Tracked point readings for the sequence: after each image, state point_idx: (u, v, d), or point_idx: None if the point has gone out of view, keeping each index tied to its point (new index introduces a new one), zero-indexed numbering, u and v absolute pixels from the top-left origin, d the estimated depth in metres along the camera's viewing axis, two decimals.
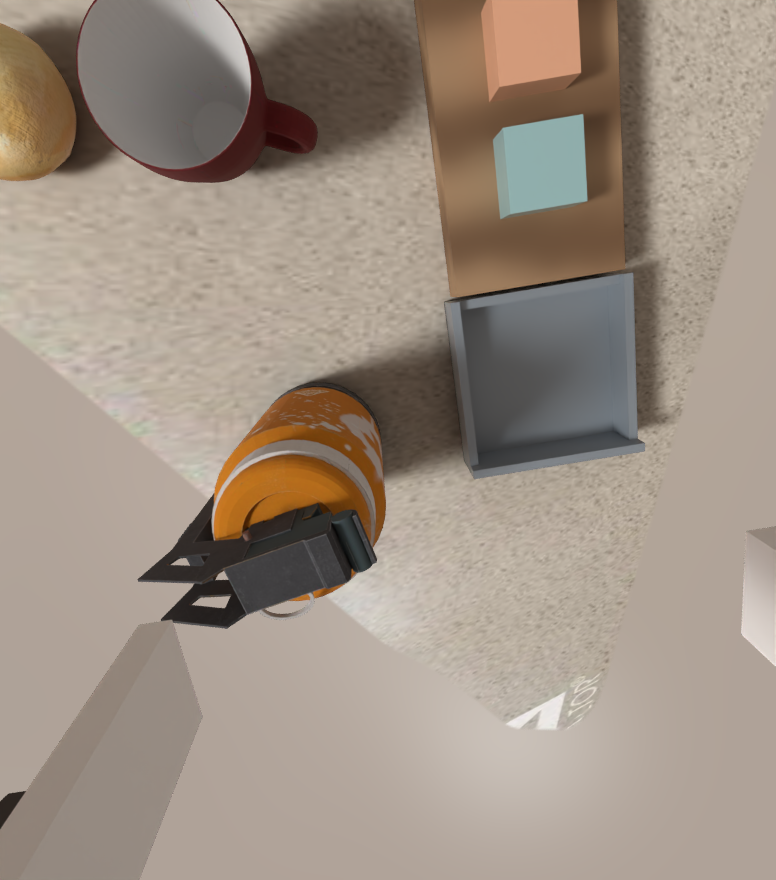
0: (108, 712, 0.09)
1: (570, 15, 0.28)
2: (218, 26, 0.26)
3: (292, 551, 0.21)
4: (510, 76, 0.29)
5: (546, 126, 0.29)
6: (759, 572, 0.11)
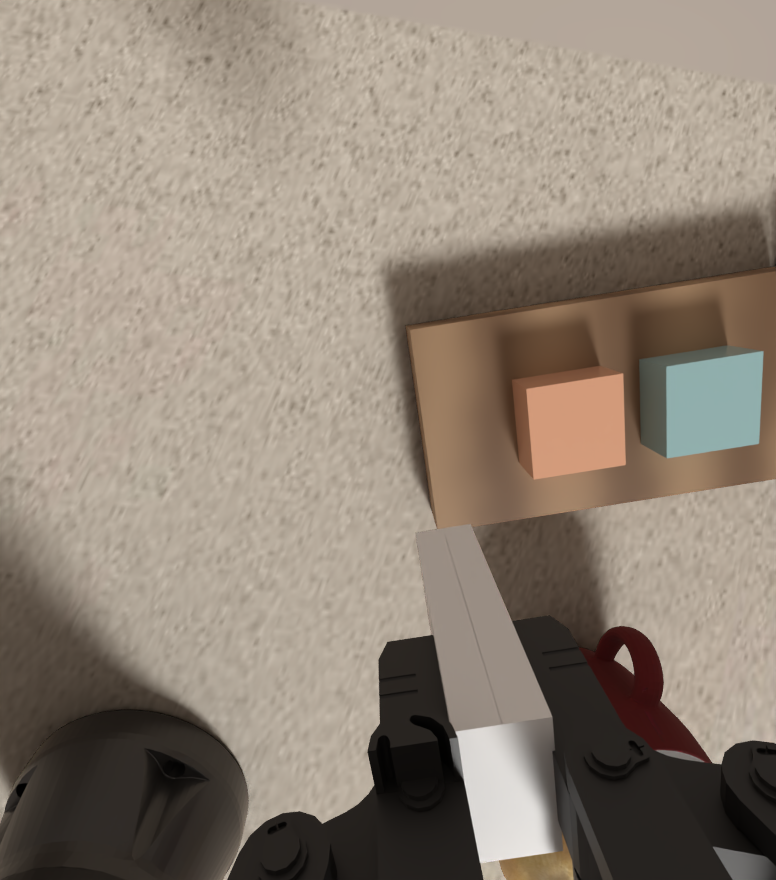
0: (451, 583, 0.11)
1: (564, 391, 0.24)
2: None
3: None
4: (617, 453, 0.25)
5: (673, 409, 0.25)
6: None
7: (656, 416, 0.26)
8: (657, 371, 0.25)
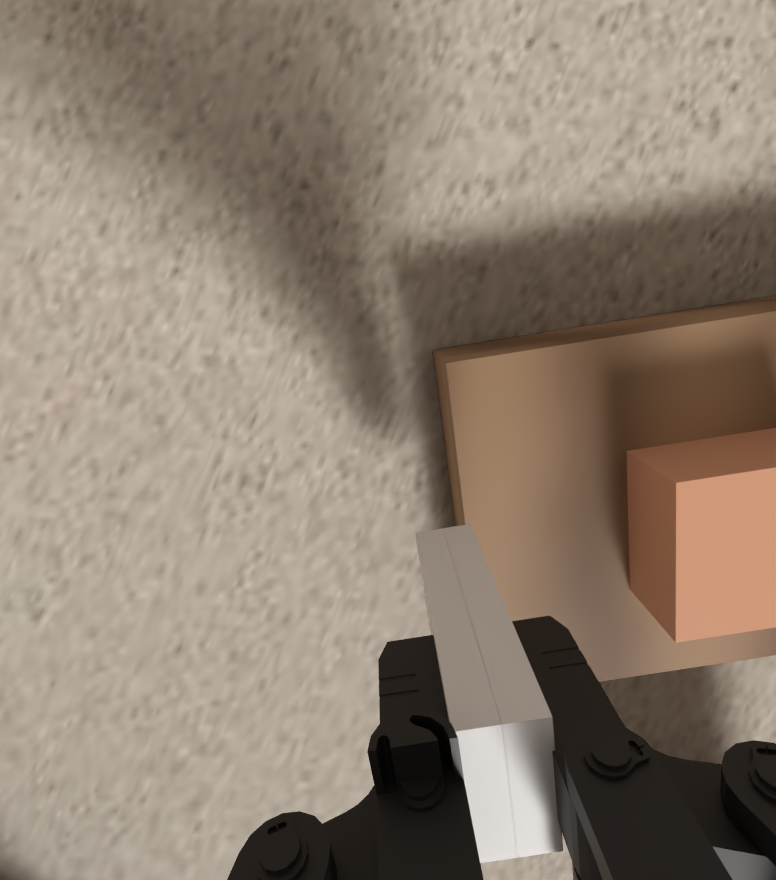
0: (451, 583, 0.11)
1: (749, 487, 0.13)
2: None
3: None
4: None
5: None
6: None
7: None
8: None
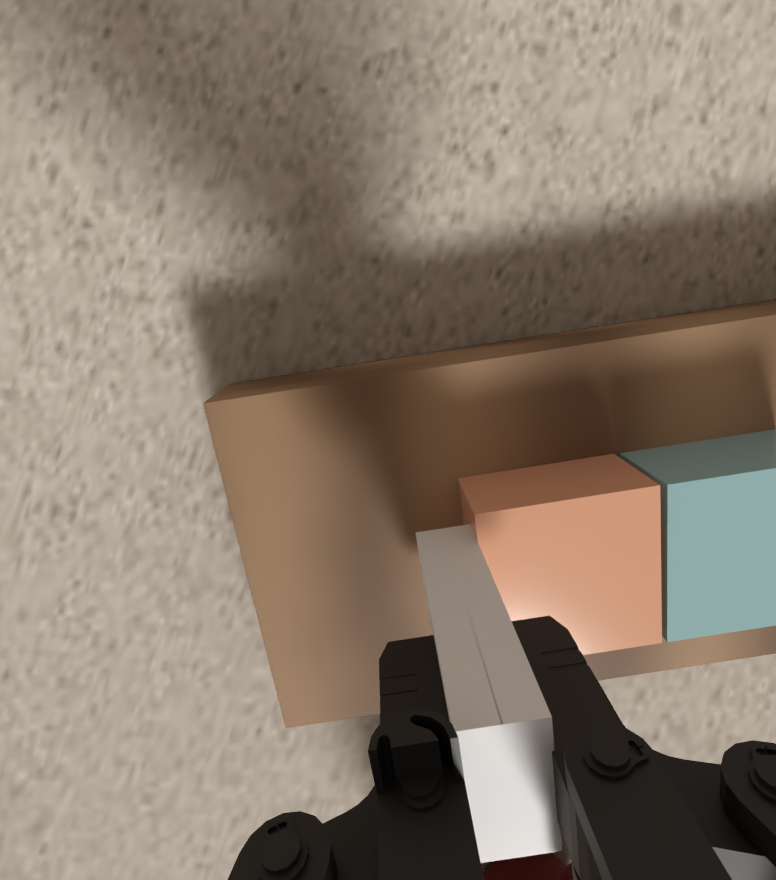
0: (451, 583, 0.11)
1: (548, 518, 0.13)
2: None
3: None
4: (646, 624, 0.14)
5: (680, 559, 0.13)
6: None
7: None
8: None
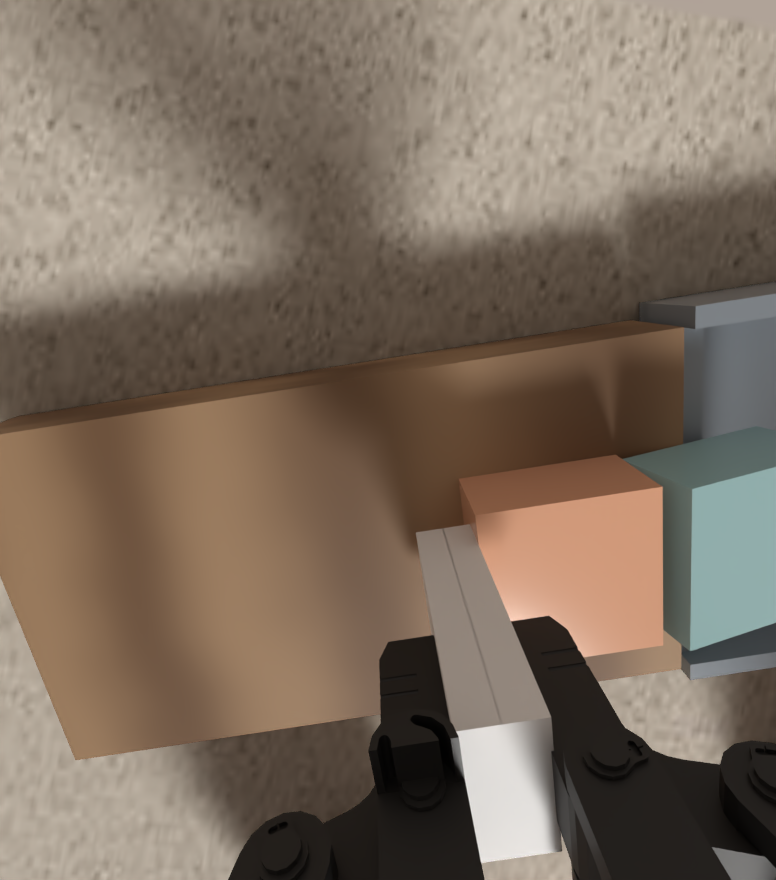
0: (452, 583, 0.11)
1: (549, 520, 0.13)
2: None
3: None
4: (647, 626, 0.14)
5: (702, 565, 0.13)
6: None
7: (664, 569, 0.14)
8: (667, 491, 0.13)
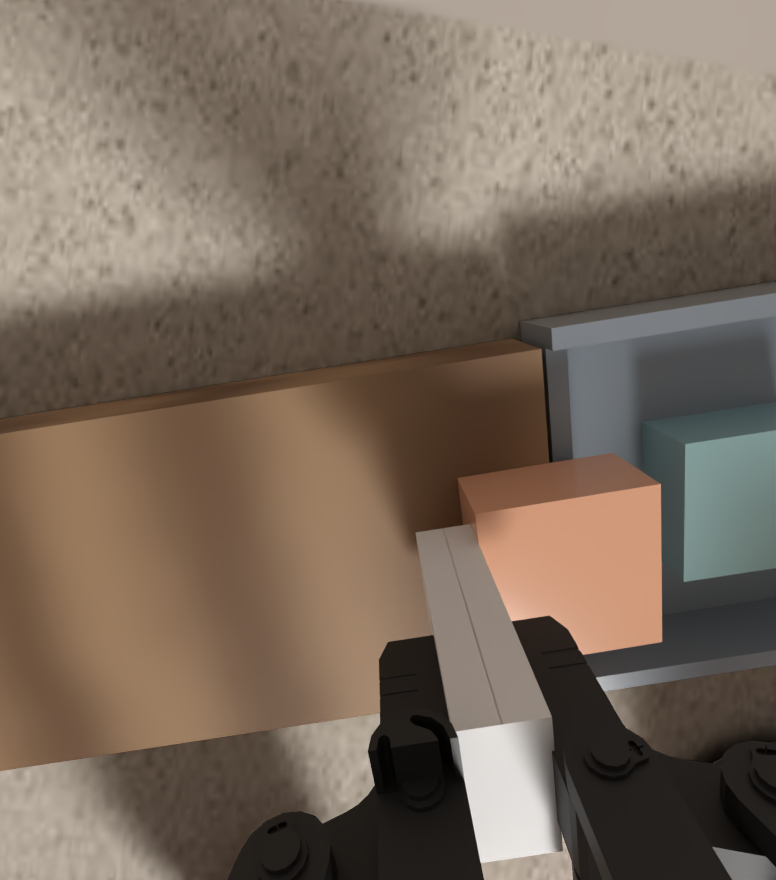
0: (451, 583, 0.11)
1: (549, 518, 0.13)
2: None
3: None
4: (646, 623, 0.14)
5: None
6: None
7: None
8: None
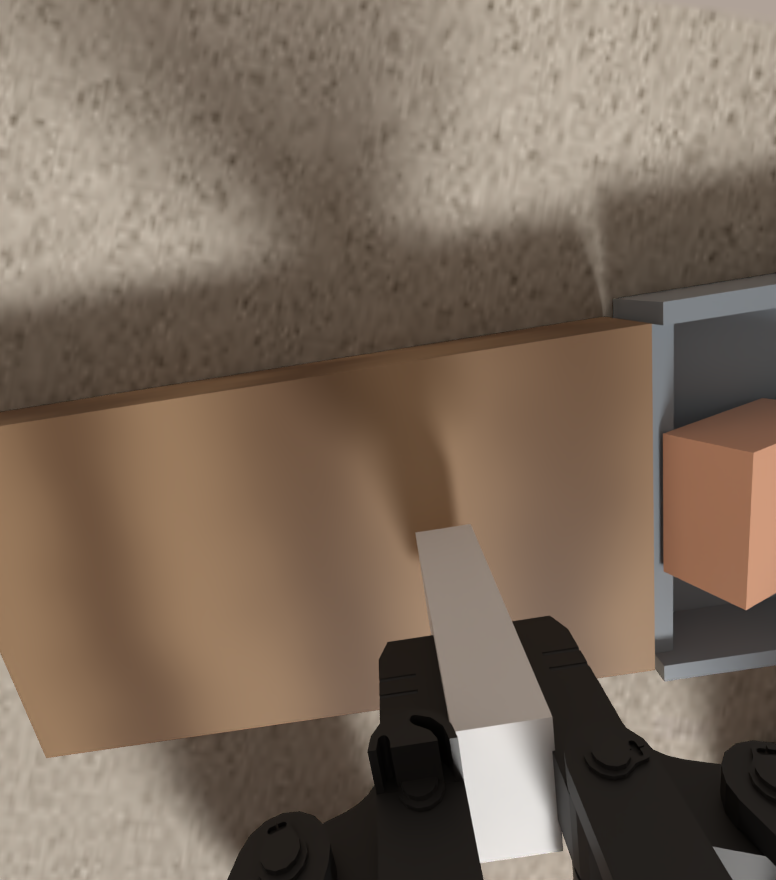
0: (451, 583, 0.11)
1: None
2: None
3: None
4: None
5: None
6: None
7: None
8: None
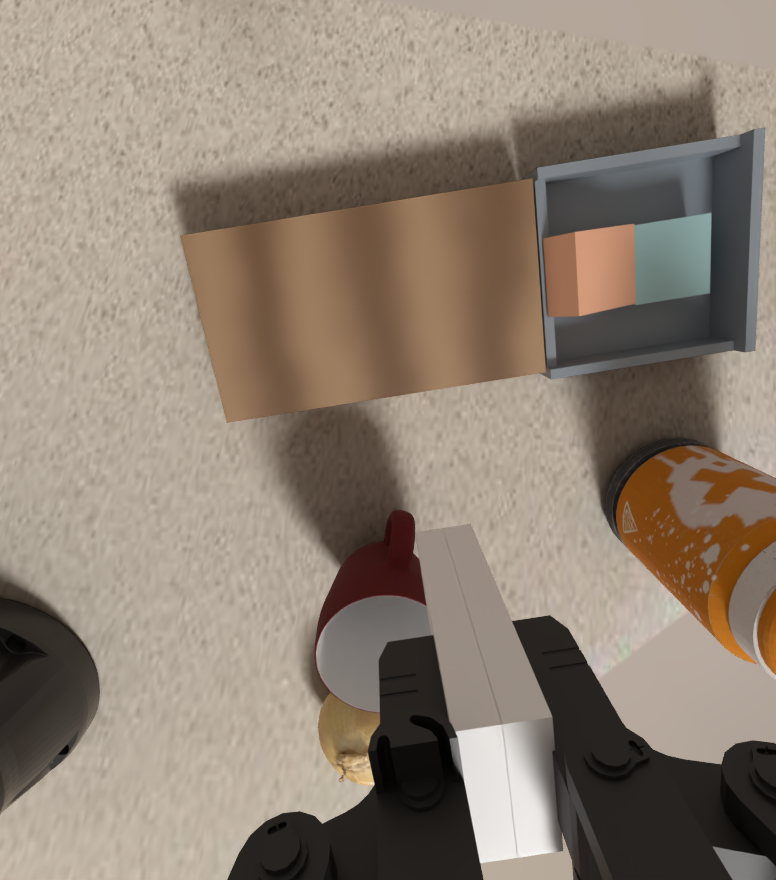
0: (451, 583, 0.11)
1: (599, 236, 0.29)
2: None
3: None
4: (630, 293, 0.31)
5: None
6: None
7: None
8: None
